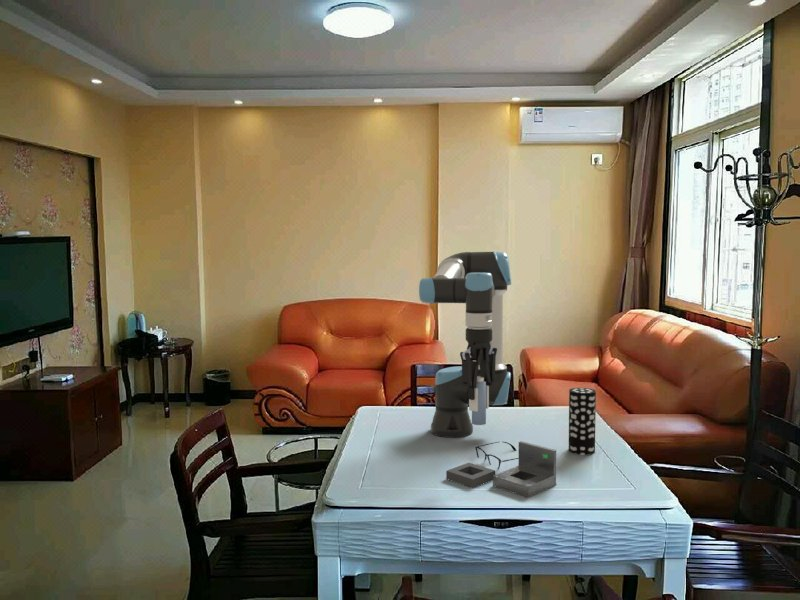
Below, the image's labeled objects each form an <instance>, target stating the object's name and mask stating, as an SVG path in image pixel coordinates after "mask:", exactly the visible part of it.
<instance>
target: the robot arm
mask: <svg viewBox="0 0 800 600" xmlns="http://www.w3.org/2000/svg"><path fill="white" fill-rule="evenodd" d="M511 285H512V277H511V269H510V261H509V256H508V254H507V253H506V252H504V251H465V252H464V251H463V252H458V253H455V254H453V255H449V256H448V257H446V258H444V259H443V260H442V261H441V262H440V263H439V264H438V266H437V270H436V273H435V275H434V276H433V277H425V278H424V277H423V278H421V279H420V281H419V285H418V295H419V296H418V297H419V300H420V302H421V303H425V304H465V321H464V322H465V326H466V328H465V341H466V342H467V347H466V350H465V351H461V352H460V353H459V355H460V358H461V366H459V365H458V366H457V365H456V366H449V367H445V368H441V369H439V370H437V372H436V373H435V382H434V385H435V387H434V390H435V392H434V393H435V411H434V415H433V418H432V422H431V424H430V433H431V434H433V435H434V436H438V437H444V438H462V437H467V436H470V435H472V434H473V433H474V432H473V430H474V427H473V425H474V424H472V419H471V417H470V413H469V411H471V412H472V411H476V412H477V411H478V388H476V383H477V377H484V381H486V410H487V409H490V406H503V405H505V404H506V403H507V402H508V398H509V389H510V383H511V382H510V381H511V377H512V376H511V375H512V373H511V372H510V371H508V367H507V365H506V364H504V362H503V361H504V360H503V355H504V354H503V352H504V351H503V349H504V348H503V346H504V344H503V339H504V338H503V334H504V333H503V332H504V330H503V329H504V327H503V326H504V323H503V322H504V320H503V318H504V317H503V316H504V315H503V314H504V311H503V310H504V307H503V306H504V305H503V299H504V298H503V297H504V294H505V293H506V292H507V291H508V286H511Z"/></svg>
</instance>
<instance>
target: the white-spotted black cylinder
mask: <svg viewBox="0 0 800 600" xmlns="http://www.w3.org/2000/svg"><path fill="white" fill-rule="evenodd" d="M568 391H569V392H568V395H569V396H568V451H569V452H570V453H572V454H575V455H579V456H580V455H581V456H590V455H594V454H595V453H596V415H597V414H596V413H597V412H596V411H597V409H596V407H597V406H596V405H597V404H596V403H597V400H596V397H597V391H596V390H595V389H593V388H589V387H572V388H569V390H568Z"/></svg>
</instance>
